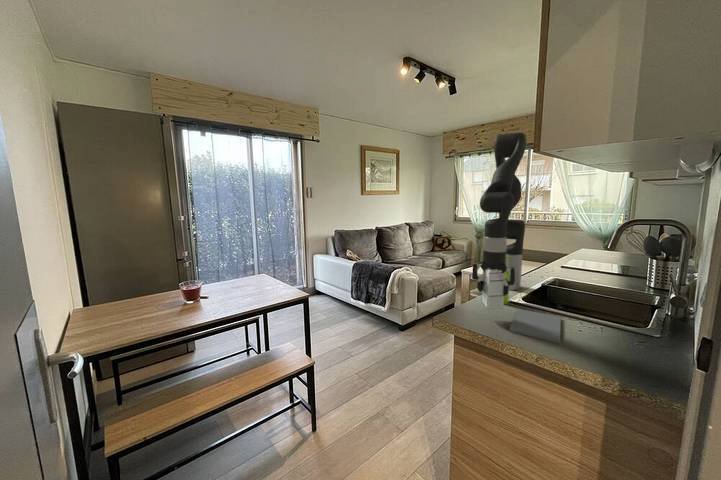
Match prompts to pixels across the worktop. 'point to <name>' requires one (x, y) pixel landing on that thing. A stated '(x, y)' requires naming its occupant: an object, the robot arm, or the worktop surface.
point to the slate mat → (536, 325)
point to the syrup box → (492, 290)
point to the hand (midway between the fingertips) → (492, 293)
